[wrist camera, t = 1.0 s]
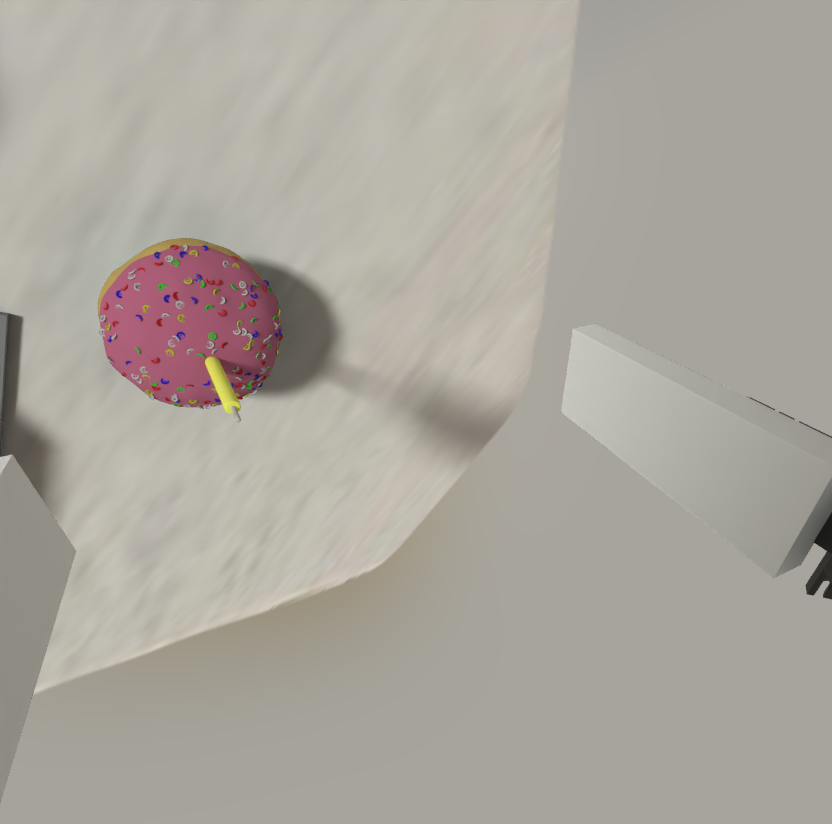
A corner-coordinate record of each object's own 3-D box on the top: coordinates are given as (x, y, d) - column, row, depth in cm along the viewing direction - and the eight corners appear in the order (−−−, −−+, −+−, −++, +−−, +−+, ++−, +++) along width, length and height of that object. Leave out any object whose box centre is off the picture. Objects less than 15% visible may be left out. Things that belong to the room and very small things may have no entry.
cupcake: (282, 351, 31) (347, 423, 21) (148, 400, 28) (156, 507, 18) (232, 216, 26) (287, 230, 17) (68, 257, 23) (22, 303, 14)
